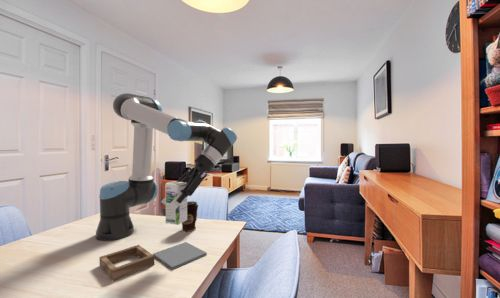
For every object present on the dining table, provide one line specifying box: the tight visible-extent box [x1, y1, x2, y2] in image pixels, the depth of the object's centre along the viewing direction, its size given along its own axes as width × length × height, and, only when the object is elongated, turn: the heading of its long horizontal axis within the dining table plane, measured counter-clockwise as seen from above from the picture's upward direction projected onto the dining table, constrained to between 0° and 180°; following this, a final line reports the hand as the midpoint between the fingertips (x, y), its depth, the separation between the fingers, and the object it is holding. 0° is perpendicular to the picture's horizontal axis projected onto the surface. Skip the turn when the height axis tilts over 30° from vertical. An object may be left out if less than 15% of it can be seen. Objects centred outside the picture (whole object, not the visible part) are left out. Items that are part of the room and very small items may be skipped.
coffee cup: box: [181, 200, 199, 232], centre depth 114 cm, size 9×8×13 cm
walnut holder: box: [99, 244, 155, 281], centre depth 81 cm, size 13×13×3 cm
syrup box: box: [164, 181, 188, 226], centre depth 87 cm, size 6×6×14 cm
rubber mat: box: [152, 241, 208, 270], centre depth 88 cm, size 14×14×1 cm
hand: (167, 206), depth 85 cm, fingers closed on syrup box, 8 cm apart
